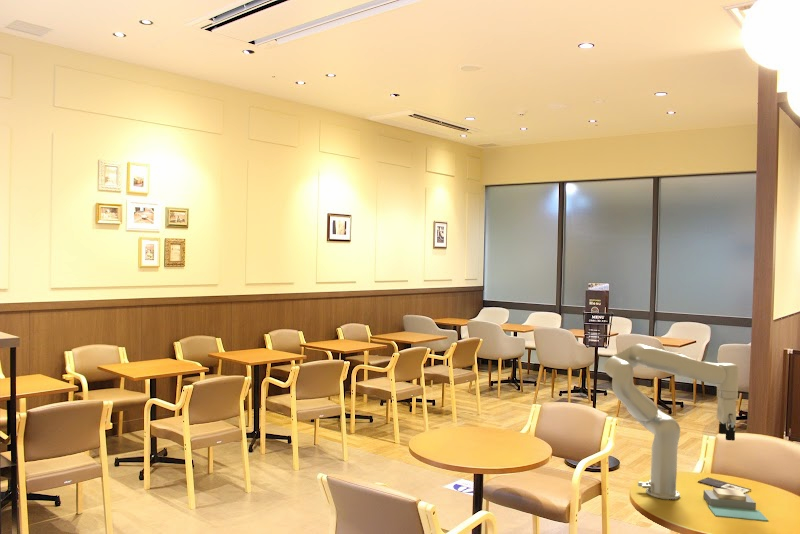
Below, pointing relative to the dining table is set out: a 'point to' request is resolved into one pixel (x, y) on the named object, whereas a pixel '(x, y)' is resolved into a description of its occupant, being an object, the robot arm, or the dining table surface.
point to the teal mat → (737, 513)
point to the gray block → (729, 501)
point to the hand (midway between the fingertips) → (726, 436)
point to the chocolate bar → (722, 485)
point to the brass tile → (729, 494)
